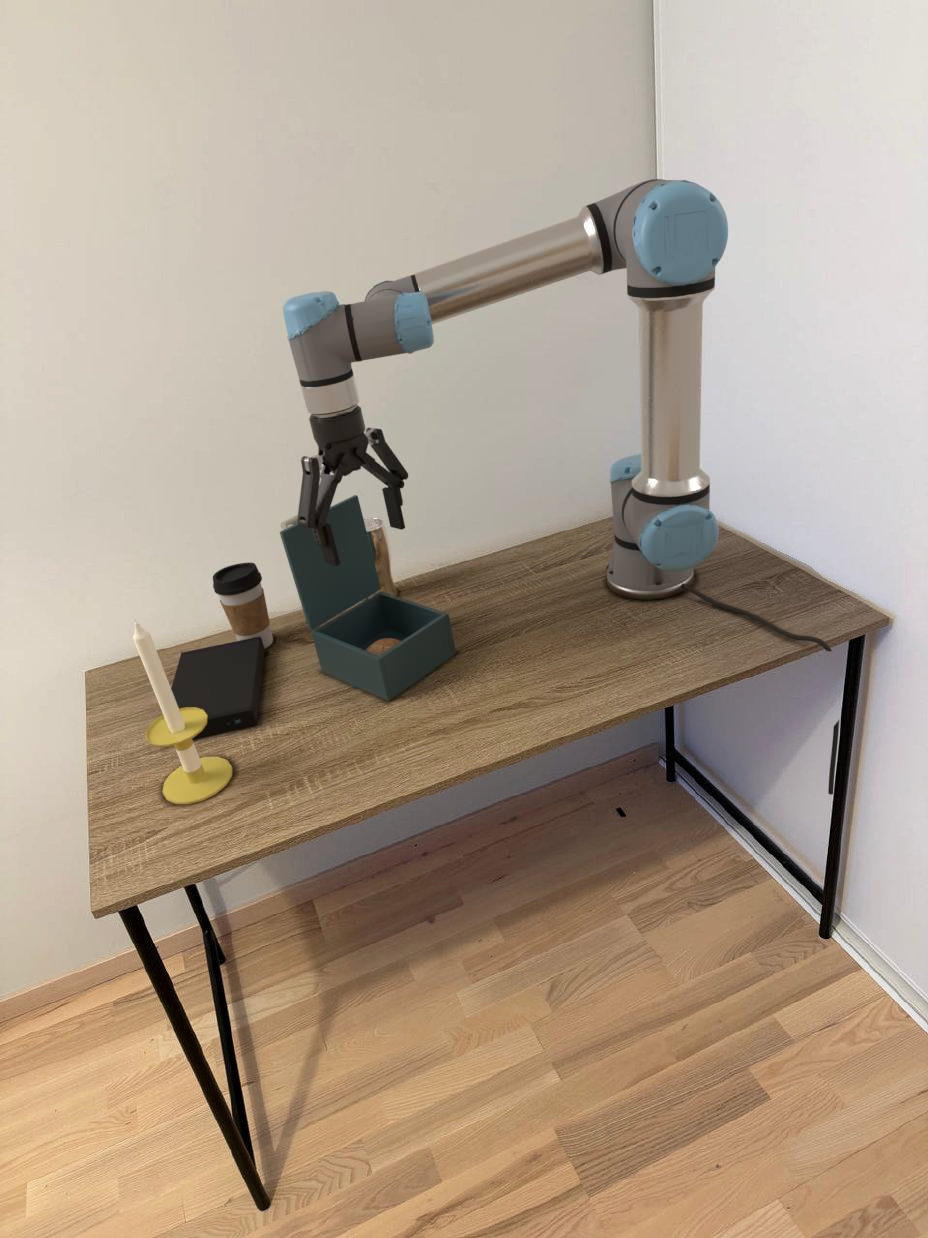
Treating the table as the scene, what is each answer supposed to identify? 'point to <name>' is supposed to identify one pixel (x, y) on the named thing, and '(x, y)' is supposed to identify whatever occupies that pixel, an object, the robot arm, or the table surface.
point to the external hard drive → (222, 684)
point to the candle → (180, 735)
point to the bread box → (379, 619)
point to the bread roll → (382, 646)
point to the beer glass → (381, 554)
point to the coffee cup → (244, 601)
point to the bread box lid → (324, 583)
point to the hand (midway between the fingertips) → (366, 545)
